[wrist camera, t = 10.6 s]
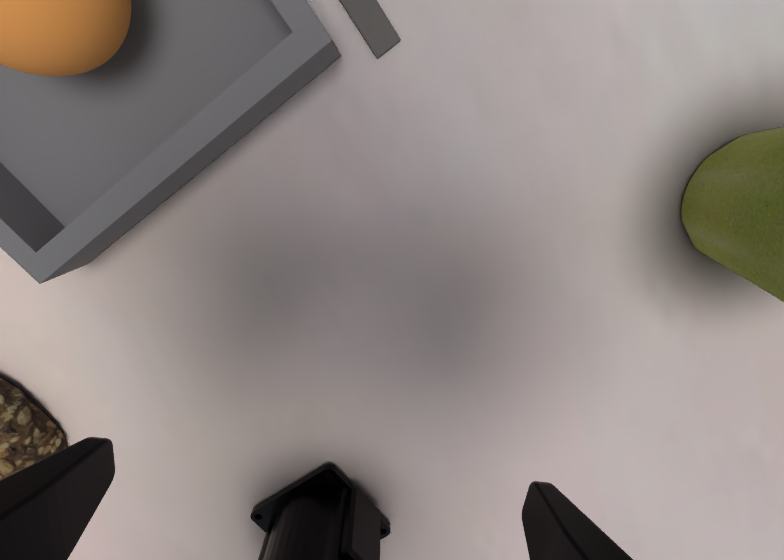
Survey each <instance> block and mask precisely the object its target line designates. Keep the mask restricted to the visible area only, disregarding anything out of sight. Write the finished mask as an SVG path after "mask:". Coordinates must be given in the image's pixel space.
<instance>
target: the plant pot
mask: <svg viewBox="0 0 784 560" xmlns="http://www.w3.org/2000/svg"><path fill="white" fill-rule="evenodd" d="M681 217H682V222H683V224H684V227H685V229H686V231H687V233H688V235H689V237H690V239H691V241H692V243H693V245H694V247H695V248H696V249H698V250H699V251H700V252H701V253H703V254H705V255H706V256H708V257H710V258H711V259H713V260H715V261H716V262H718V263H720V264H721V265H723V266H725V267H726V268H728V269H730V270H732V271H733V272H735V273H737V274H739V275H740V276H742V277H744V278H745V279H747V280H749V281H750V282H752V283H754V284H755V285H757V286H758V287H760V288H762V289H763V290H765V291H767V292H768V293H770V294H772V295H773V296H775V297H777V298H778V299H780V300H781V301H783V302H784V127H780V128H775V129H769V130H764V131H758V132H753V133H749V134H746V135H743V136H740V137H738V138H737V139H735V140H734V141H732V142H731V143H729V144H727V145H726V146H724V147H722V148H721V149H719V150H718V151H716V152H715V153H713V154H711V155H710V156H709V157H707V158H706V159H705V160H704V161H703V163H702V164H701V165H700V166H699V167H698V169H697V170H696V172H695V173H694V175H693V176H692V178H691V180H690V181H689V183H688V186H687V188H686V191H685V194H684V198H683V202H682V212H681Z"/></svg>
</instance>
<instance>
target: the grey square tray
mask: <svg viewBox="0 0 784 560" xmlns="http://www.w3.org/2000/svg"><path fill="white" fill-rule="evenodd" d="M340 56H341V54H340V53H339V51H338V49H337V47H336V45H335V44H334V42H333V40H332V38H331V37H330V35H329V34H328V32H327V31H326V29H325V28H324V26H323V25H322V23H321V22H320V20H319V19H318V17H317V16H316V14H315V13H314V11H313V10H312V8H311V7H310V5H309V4H308V2H307V1H306V0H131V19H130V25H129V29H128V32H127V35H126V37H125V39H124V41H123V43H122V45H121V46H120V48H119V49H118V51H117V52H116V53H115V54H114V55H113V56H112V57H111V58H110V59H109V60H108V61H107V62H105V63H104V64H102V65H101V66H99V67H97V68H95V69H93V70H90V71H88V72H85V73H81V74H77V75H71V76H41V75H34V74H30V73H25V72H21V71H18V70H15V69H12V68H9V67H6V66H3V65H1V64H0V247H1V248H2V249H3V250H4V251H5V252H6V253H7V254H8V255H9V256H10V257H11V258H13V259H14V260H15V261H16V262H17V263H18V264H19V265H20V266H21V267H22V268H23V269H24V270H25V271H26V272H28V273H29V274H30V275H31V276H32V277H33V278H34V279H35V280H36V281H37V282H38V283H39V284H41V283H43V282H46V281H48V280H50V279H53V278H55V277H58V276H60V275H62V274H65V273H67V272H69V271H72V270H74V269H77V268H79V267H81V266H84V265H86V264H88V263H90V262H91V261H92V260H93V259H94V258H96V257H97V256H98V255H99V254H100V253H102V252H103V251H104V250H105V249H107V248H108V247H109V246H110V245H111V244H113V243H114V242H115V241H116V240H118V239H119V238H120V237H121V236H122V235H124V234H125V233H126V232H127V231H128V230H130V229H131V228H132V227H133V226H135V225H136V224H137V223H138V222H139V221H141V220H142V219H143V218H144V217H146V216H147V215H148V214H149V213H150V212H152V211H153V210H154V209H155V208H156V207H158V206H159V205H160V204H161V203H163V202H164V201H165V200H166V199H167V198H169V197H170V196H171V195H172V194H174V193H175V192H176V191H177V190H178V189H180V188H181V187H182V186H183V185H184V184H186V183H187V182H188V181H189V180H191V179H192V178H193V177H194V176H195V175H197V174H198V173H199V172H200V171H201V170H203V169H204V168H205V167H206V166H208V165H209V164H210V163H211V162H212V161H214V160H215V159H216V158H217V157H219V156H220V155H221V154H222V153H223V152H225V151H226V150H227V149H228V148H229V147H231V146H232V145H233V144H234V143H236V142H237V141H238V140H239V139H240V138H242V137H243V136H244V135H245V134H247V133H248V132H249V131H250V130H251V129H253V128H254V127H255V126H256V125H257V124H259V123H260V122H261V121H262V120H264V119H265V118H266V117H267V116H268V115H270V114H271V113H272V112H273V111H274V110H276V109H277V108H278V107H279V106H281V105H282V104H283V103H284V102H285V101H287V100H288V99H289V98H290V97H292V96H293V95H294V94H295V93H296V92H298V91H299V90H300V89H301V88H302V87H304V86H305V85H306V84H307V83H309V82H310V81H311V80H312V79H313V78H315V77H316V76H317V75H318V74H320V73H321V72H322V71H323V70H324V69H326V68H327V67H328V66H329V65H330V64H332V63H333V62H334V61H335V60H337V59H338V58H339V57H340Z"/></svg>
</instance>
